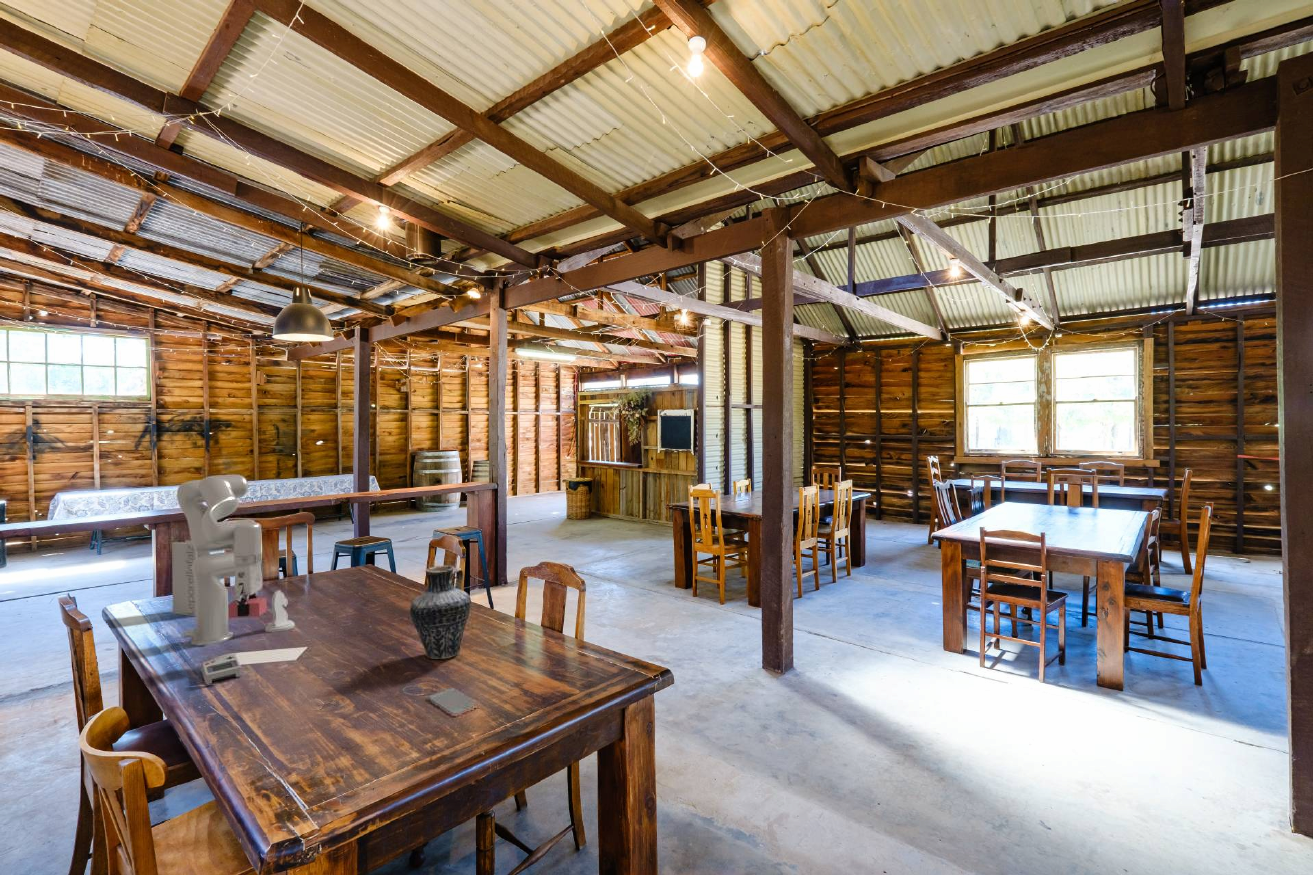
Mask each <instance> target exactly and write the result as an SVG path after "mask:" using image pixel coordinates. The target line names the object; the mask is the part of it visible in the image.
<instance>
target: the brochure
mask: <svg viewBox="0 0 1313 875" xmlns="http://www.w3.org/2000/svg"><path fill="white" fill-rule="evenodd" d="M210 554H211V552H207V553H199V552H196V551H195V550H194V548H193V544H192V540H185V542H171V556H172V558H171V559H172V560H171V561H172V563H171V564H172V568H171V569H172V570H171V571H172V614H176V615H183V616H184V615H185V616H193V617H196V593H195V582H194V577H193V572H192V564H193V562H194V561H195V560H196V559H197V558H199V557H201V556H205V555H210Z"/></svg>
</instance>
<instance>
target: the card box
mask: <svg viewBox="0 0 1313 875" xmlns="http://www.w3.org/2000/svg"><path fill="white" fill-rule="evenodd" d="M267 600H268V598H267V597H260V598H259V597H256V598H253V599H248V604H249V615H248V616H238V606H237V600H236V599H235V600H233V601H232V602H231V603H228V619H235V618H240V619H241V618H255V617H260V616H262V615H263V614H264V613H266V612H267V608H268V607H267V606H268V604H267V603H268V602H267Z"/></svg>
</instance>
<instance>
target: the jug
mask: <svg viewBox="0 0 1313 875" xmlns="http://www.w3.org/2000/svg"><path fill="white" fill-rule="evenodd" d="M425 574H426V578H427V582H428V584H427V588H426V590H425V591H424V592H423V593H422V594H420V595H418V596H417V597H415V599H413V601H411V602H412V603H411V604H410V608H409V610H410V611H409V613H410V617H411V621H412V623H413V625H414V628H415V630H416V632H417V634H418V637H419V639H420V642H421V644H422V647H423V649H424V651H425V654H426V657H428V658H429V659H433V660H441V659H443V660H444V659H449V658H452V657H455V656H457V655H459V653H460V652H461V644H462V640H463V636H464V632H465V628H466V624H467V621H468V619H469V617H470V616H469V615H470V611H471V606H472V601H471V600H472V599H471V596H470V595H469V594H468V593H467V592H466V591H464V590H462V585H463V579H464V570H462V568H459V567H454V566H452V565H445V564H444V565H437V566H433V567H427V568H426V570H425ZM454 575H455V576H456V578H455V582H454V584H455V586H454V584H453V579H452V578H453V576H454Z"/></svg>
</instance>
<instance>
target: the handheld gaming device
mask: <svg viewBox="0 0 1313 875" xmlns="http://www.w3.org/2000/svg"><path fill="white" fill-rule="evenodd" d="M235 654H236V653H235V652H231V653H227V654H223V655H218V656H215V657H210V658H207V659H206V660H204V661H203V662H202V663H201V667H200V668H201V673H202V677H203V679H204V683H205V685H211V684H213V681H217V680H220V679H226V678H230V677H233V676H235V678H239V677H242V673H243V672H242V671H243V670H242V665H240V663H239V661H238V659H237V657H236V655H235Z"/></svg>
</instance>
